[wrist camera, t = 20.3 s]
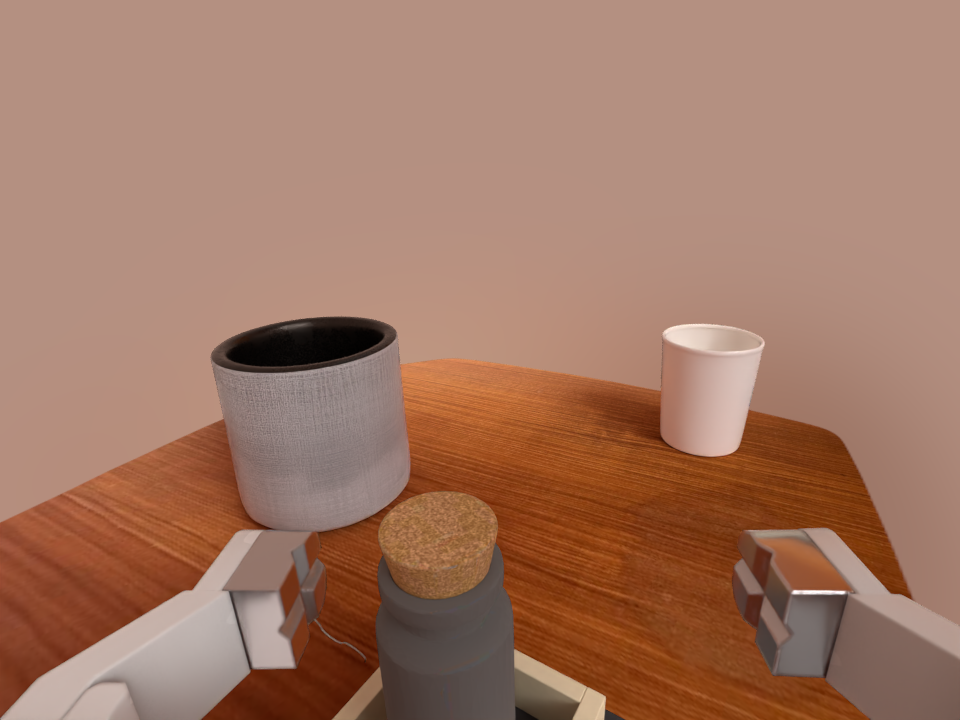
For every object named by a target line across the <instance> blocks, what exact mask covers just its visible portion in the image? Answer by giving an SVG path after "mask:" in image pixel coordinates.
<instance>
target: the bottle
mask: <svg viewBox="0 0 960 720" xmlns="http://www.w3.org/2000/svg"><path fill="white" fill-rule="evenodd" d="M497 532H498V523H497V518H496V516H495V514H494V512H493V510H492V509H491V508H490V507H489V506H488V505H487V504H486V503H485V502H483V501H482V500H480V499H478V498H476V497H474V496H471V495H468V494H465V493H460V492H451V491H438V492H429V493H425V494H420V495H417V496H414V497H411V498H409V499H407V500H405V501H403V502H401V503H399V504H398V505H396V506H395V507H394V508H392V509H391V510H390V511H389V512H388V513H387V514H386V516H385V517H384V519H383V520H382V522H381V524H380V527H379V530H378V542H379V546H380V548H381V551H382V553H383V556H382V558H381V560H380V563H379V566H378V575H377V577H378V586H379V592H380V596H381V599H382V603H381V605H380V607H379V610H378V613H377V617H376V639H377V648H378V656H379V664H380V671H381V678H382V685H383V693H384V700H385V707H386V715H387V720H515V671H514V628H513V611H512V605H511V601H510V599H509V596H508V594H507V592H506V591H505V589H504V588H503V587H502V586H503V579H504V563H503V558H502V554H501V551H500V549H499V547H498V546H497V544H496V543H495V541H496V537H497Z"/></svg>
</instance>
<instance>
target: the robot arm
mask: <svg viewBox="0 0 960 720" xmlns="http://www.w3.org/2000/svg"><path fill="white" fill-rule="evenodd" d="M321 548H322V547H321V543H320V539H319V534H318V533H317V532H315V531H308V530H240V531H238V532H236V533H235V534H234V535H233V537H232V538H231V539H230V541H229V542H228V543H227V545H226V546H225V547H224V549H223V550H222V551H221V553H220V554H219V555H218V557H217V558H216V559H215V561H214V562H213V563H212V565H211V566H210V567H209V569H208V570H207V571H206V573H205V574H204V575H203V577H202V578H201V579H200V581H199V582H198V583H197V585H196V586H195V587H194V589H193V590H192V591H183V592H181V593H179V594H178V595H176V596H174V597H173V598H171V599H169V600H168V601H166V602H164V603H163V604H161V605H159V606H157V607H156V608H154V609H152V610H151V611H149V612H147V613H146V614H144V615H142V616H141V617H139V618H137V619H136V620H134V621H132V622H131V623H129V624H127V625H126V626H124V627H122V628H121V629H119V630H117V631H116V632H114V633H112V634H111V635H109V636H107V637H106V638H104V639H102V640H101V641H99V642H97V643H96V644H94V645H92V646H91V647H89V648H87V649H86V650H84V651H82V652H81V653H79V654H77V655H76V656H74V657H72V658H71V659H69V660H67V661H66V662H64V663H62V664H61V665H59V666H57V667H56V668H54V669H52V670H51V671H49V672H47V673H46V674H44V675H42V676H40V677H39V678H37V679H36V680H35V681H34V682H33V684H32V685H31V686H30V687H29V688H28V689H27V690H26V691H25V692H24V693H23V694H22V695H21V697H20V698H19V699H18V700H17V701H16V702H15V703H14V704H13V705H12V706H11V707H10V708H9V709H8V711H7V712H6V713H5V714H4V715H3V716H2V717H1V718H0V720H201V719H202V718H203V717H204V716H205V715H206V714H207V713H208V712H209V711H210V710H211V709H213V708H214V707H215V706H216V705H217V704H218V703H219V702H220V701H221V700H222V699H223V698H224V697H225V696H226V695H227V694H228V693H229V692H230V691H231V690H232V689H233V688H234V687H236V686H237V685H238V684H239V683H240V682H241V681H242V680H243V679H244V678H245V677H246V676H247V675H248V674H249V673H250V669H297V667H298V664H299V662H300V660H301V657H302V655H303V653H304V650H305V648H306V646H307V643H308V641H309V639H310V633H309V628H308V625H309V624H310V623H312V622H313V621H314V620H315V619H317V618H318V617H319V615H320V612H321V610H322V607H323V605H324V600H325V595H326V589H327V575H326V569H325V565H324V564H323V563H322V562H321V561H320V560H319V559H318V558H317V556H318V554H319V552H320V550H321ZM737 549H738V550H739V552H740V554H741V556H742V557H743V558H742V559H741V560H740V561H739V562H738V563H737V564H736V565H735V566H734V567H733V576H732V586H733V594H734V599H735V602H736V605H737V608H738V610H739V612H740V614H741V616H742V618H743V620H744V621H745V622H747V623H748V624H749V625H751V626H752V627H753V628H755V629H756V630H757V632H756V637H755V643H756V645H757V647H758V649H759V650H760V652H761V654H762V656H763V658H764V660H765V662H766V664H767V665H768V667H769V669H770V671H771V673H772V675H773V676H793V677H816V678H826V679H825V681H826V682H828V683H829V684H830V685H831V686H832V687H833V688H835V689H836V690H837V691H838V692H839V693H840V694H842V695H843V696H844V697H845V698H846V699H847V700H849V701H850V702H851V703H852V704H853V705H854V706H856V707H857V708H858V709H859V710H860V711H861V712H863V713H864V714H865V715H866V716H867V717H868V718H870V719H871V720H960V626H959V625H957V624H956V623H953V622H952V621H950V620H948V619H946V618H944V617H942V616H940V615H939V614H937V613H934V612H933V611H931V610H929V609H927V608H925V607H923V606H922V605H919V604H918V603H916V602H914V601H912V600H910V599H908V598H907V597H905V596H903V595H901V594H890V593H889V591H888V590H887V589H886V588H885V587H884V586H883V585H882V584H881V583H880V582H879V580H878V579H877V578H876V577H875V576H874V575H873V574H872V573H871V572H870V571H869V570H868V568H867V567H866V566H865V565H864V564H863V563H862V562H861V561H860V560H859V559H858V557H857V556H856V555H855V554H854V553H853V552H852V551H851V550H850V549H849V548H848V546H847V545H846V544H845V543H844V542H843V541H842V540H841V539H840V538H839V537H838V535H837V534H836V533H835V532H833V531H832V530H830V529H828V528H806V529H797V530H742V532H741V533H740V535H739V537H738V543H737Z"/></svg>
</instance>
